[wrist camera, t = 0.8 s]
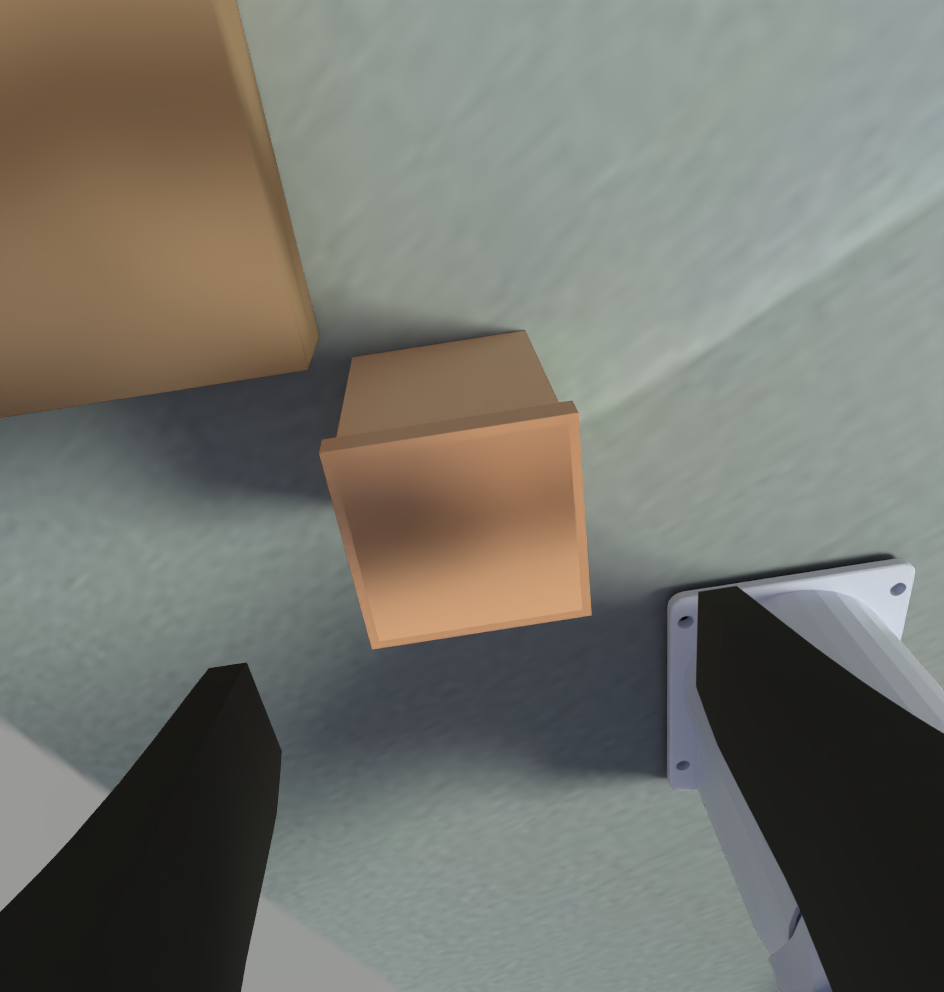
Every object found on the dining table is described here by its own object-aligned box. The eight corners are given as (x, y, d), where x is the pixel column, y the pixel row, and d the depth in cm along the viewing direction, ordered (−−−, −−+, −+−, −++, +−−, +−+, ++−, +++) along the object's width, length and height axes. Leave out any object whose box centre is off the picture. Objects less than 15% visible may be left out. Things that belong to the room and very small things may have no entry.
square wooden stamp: (547, 485, 22) (591, 615, 16) (380, 511, 22) (371, 649, 16) (531, 321, 19) (578, 413, 14) (342, 351, 19) (318, 452, 14)
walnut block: (319, 336, 19) (307, 370, 17) (-64, 396, 19) (-126, 437, 17) (192, -176, 14) (152, -224, 12) (-332, -94, 14) (-471, -126, 12)
